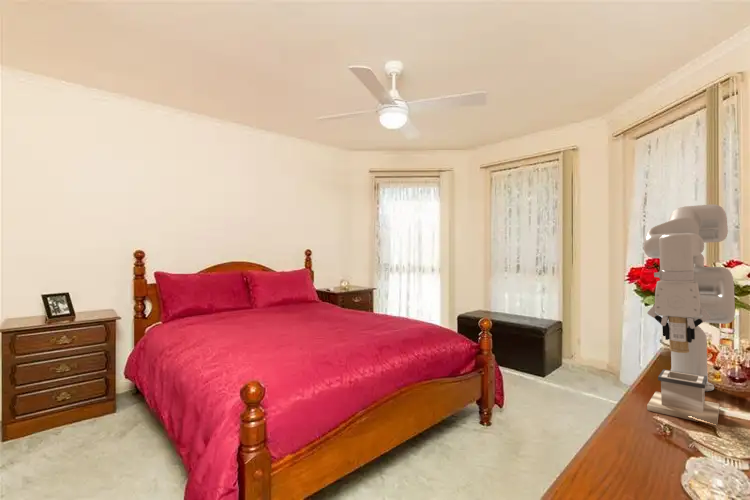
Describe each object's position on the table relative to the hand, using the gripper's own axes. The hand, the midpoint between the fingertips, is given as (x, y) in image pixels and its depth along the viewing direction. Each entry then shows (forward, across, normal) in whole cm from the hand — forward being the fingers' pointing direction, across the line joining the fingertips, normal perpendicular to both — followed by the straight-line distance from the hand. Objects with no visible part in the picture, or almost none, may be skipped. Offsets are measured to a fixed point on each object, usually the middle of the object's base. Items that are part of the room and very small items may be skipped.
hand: (678, 339), depth 108 cm
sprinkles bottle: (+4, 0, 0) cm, 4 cm away
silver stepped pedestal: (+21, 0, +2) cm, 21 cm away
